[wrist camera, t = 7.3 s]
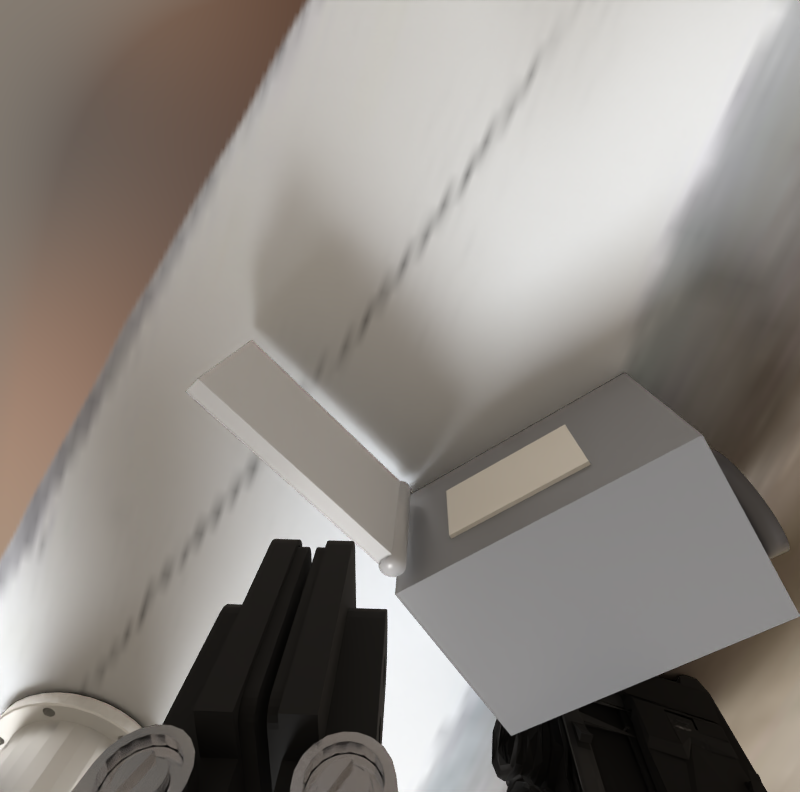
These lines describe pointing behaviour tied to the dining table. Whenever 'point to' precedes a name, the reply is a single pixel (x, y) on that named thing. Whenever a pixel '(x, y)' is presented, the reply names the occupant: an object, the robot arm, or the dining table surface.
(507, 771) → the camera
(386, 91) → the dining table surface
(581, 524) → the grey device box
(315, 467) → the side door
